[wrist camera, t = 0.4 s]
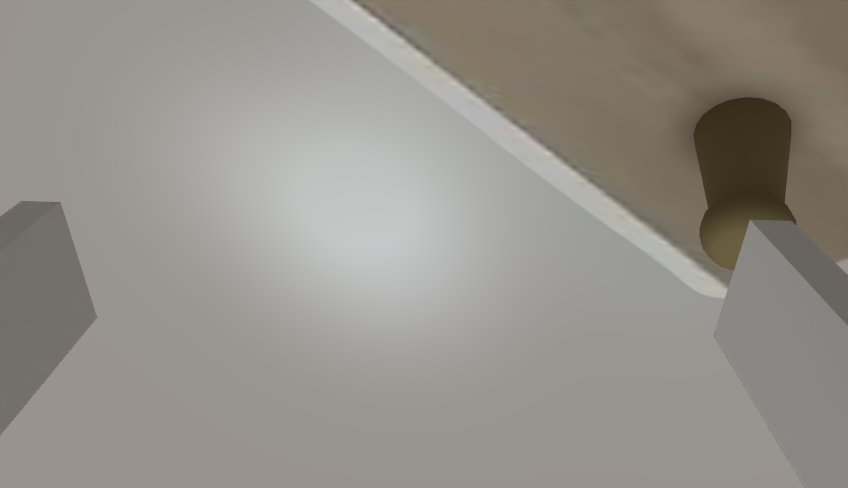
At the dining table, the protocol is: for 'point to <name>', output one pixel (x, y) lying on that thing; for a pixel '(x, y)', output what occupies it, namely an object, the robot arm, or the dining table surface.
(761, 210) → the cork
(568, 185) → the dining table surface
